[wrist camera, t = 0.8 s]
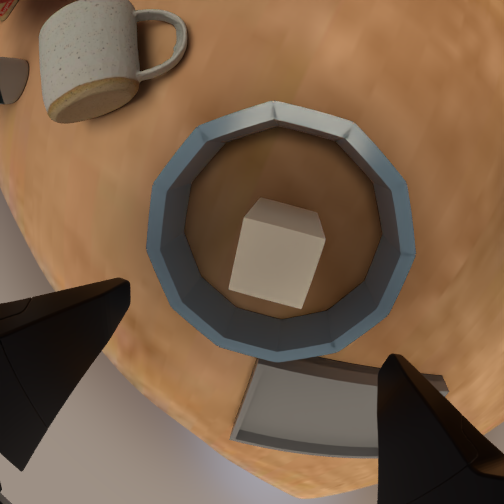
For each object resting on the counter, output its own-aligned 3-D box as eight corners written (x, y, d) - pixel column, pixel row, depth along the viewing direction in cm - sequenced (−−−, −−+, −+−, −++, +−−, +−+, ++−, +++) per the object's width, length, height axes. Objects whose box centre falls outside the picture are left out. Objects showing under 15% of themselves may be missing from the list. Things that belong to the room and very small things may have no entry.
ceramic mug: (89, 129, 18) (21, 132, 11) (81, 54, 16) (21, 39, 9) (202, 80, 16) (151, 46, 9) (184, 0, 14) (140, -47, 7)
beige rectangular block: (317, 212, 18) (325, 239, 13) (301, 264, 20) (301, 309, 14) (260, 197, 18) (243, 217, 13) (247, 250, 20) (228, 289, 14)
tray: (441, 375, 21) (449, 391, 19) (379, 443, 27) (381, 458, 24) (262, 343, 23) (257, 363, 20) (233, 423, 28) (229, 439, 26)
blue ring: (418, 157, 15) (446, 160, 12) (346, 344, 22) (351, 377, 18) (195, 98, 17) (170, 87, 13) (165, 295, 23) (144, 321, 19)
